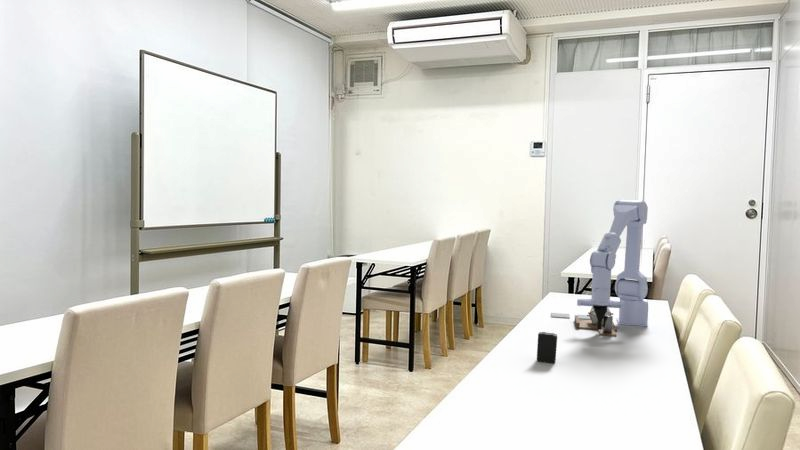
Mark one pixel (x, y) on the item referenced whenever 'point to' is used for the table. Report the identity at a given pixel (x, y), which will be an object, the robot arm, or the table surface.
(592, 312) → the game die
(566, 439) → the table surface
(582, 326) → the brown base with post
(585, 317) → the broken grey strip
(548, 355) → the ink cartridge
